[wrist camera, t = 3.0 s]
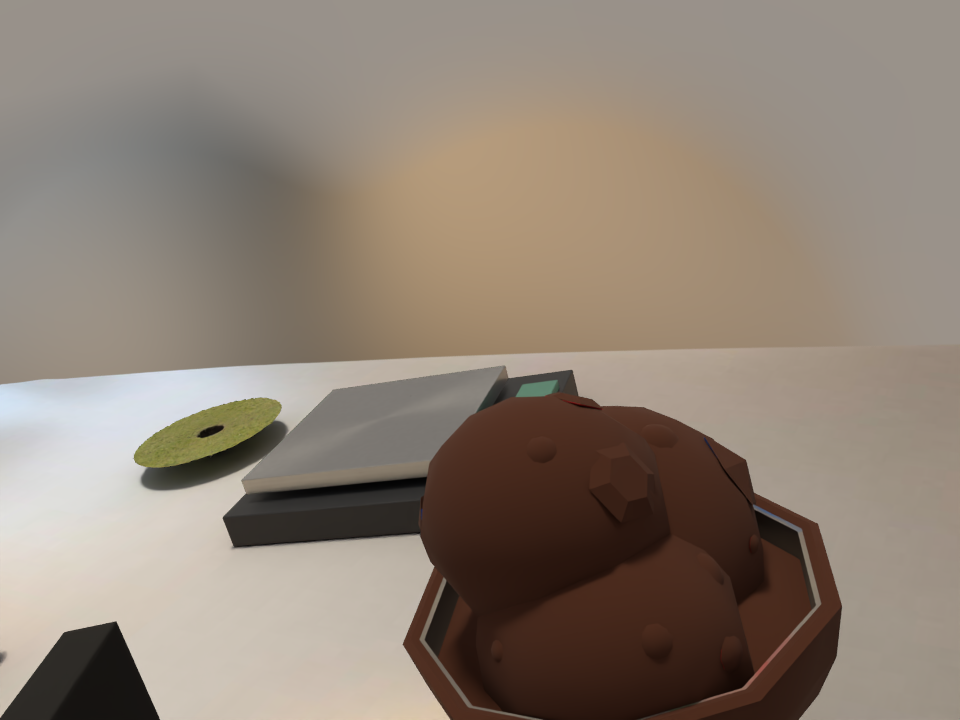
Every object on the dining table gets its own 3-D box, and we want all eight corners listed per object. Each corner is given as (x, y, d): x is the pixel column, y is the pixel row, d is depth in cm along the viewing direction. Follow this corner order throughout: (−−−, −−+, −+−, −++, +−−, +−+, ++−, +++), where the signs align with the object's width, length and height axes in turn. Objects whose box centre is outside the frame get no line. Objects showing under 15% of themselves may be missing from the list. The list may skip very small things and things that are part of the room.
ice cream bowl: (855, 1131, 19) (747, 519, 14) (425, 964, 25) (247, 494, 20) (905, 755, 27) (848, 291, 22) (575, 697, 33) (474, 321, 28)
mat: (214, 492, 60) (204, 467, 60) (112, 486, 66) (102, 463, 66) (318, 418, 69) (310, 395, 68) (219, 418, 75) (211, 398, 74)
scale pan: (508, 378, 59) (505, 365, 59) (451, 474, 48) (446, 458, 47) (337, 402, 64) (333, 389, 63) (246, 495, 52) (240, 480, 52)
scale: (579, 396, 60) (570, 360, 59) (526, 524, 46) (514, 480, 45) (343, 425, 66) (333, 393, 65) (233, 547, 52) (218, 508, 51)
